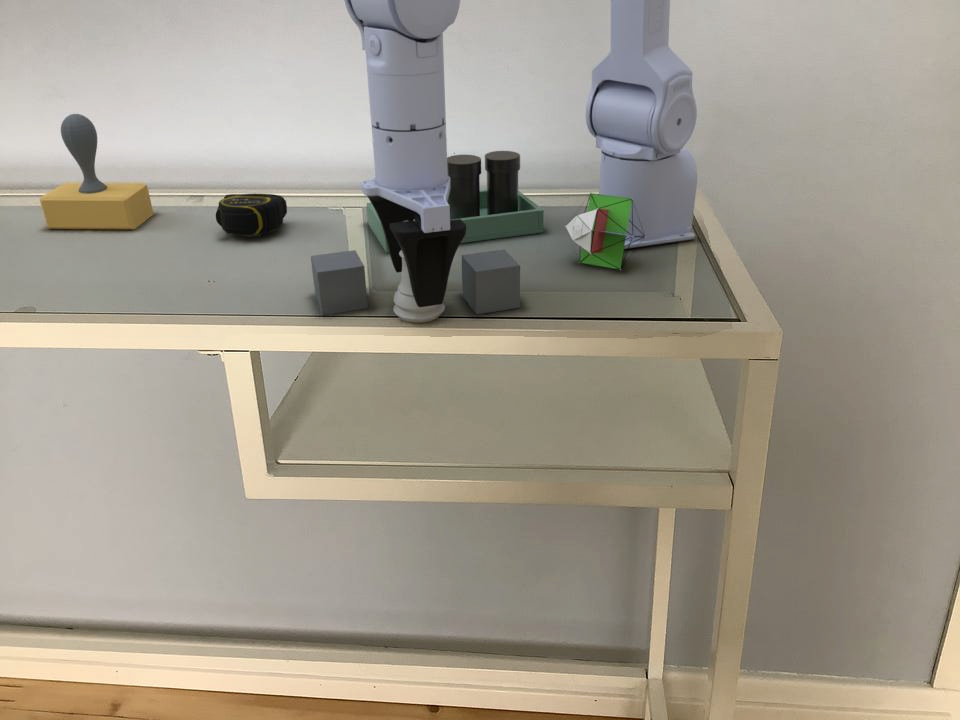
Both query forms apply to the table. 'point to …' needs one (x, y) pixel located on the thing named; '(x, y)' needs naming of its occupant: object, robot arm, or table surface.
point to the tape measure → (251, 213)
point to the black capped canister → (502, 181)
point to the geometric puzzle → (603, 230)
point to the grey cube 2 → (491, 281)
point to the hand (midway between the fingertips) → (417, 286)
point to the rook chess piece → (412, 301)
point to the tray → (484, 222)
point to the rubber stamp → (93, 189)
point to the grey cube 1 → (339, 282)
